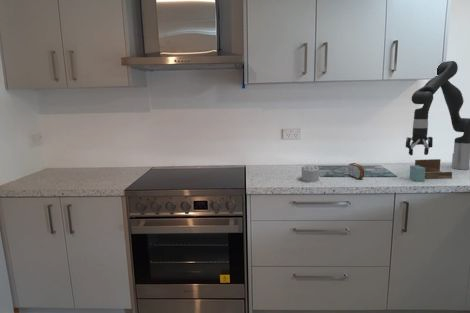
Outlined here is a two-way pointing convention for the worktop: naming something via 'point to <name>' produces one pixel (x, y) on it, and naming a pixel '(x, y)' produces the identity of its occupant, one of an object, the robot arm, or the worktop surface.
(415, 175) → the cabinet block
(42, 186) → the worktop surface
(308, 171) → the lumpy-topped squat cylinder
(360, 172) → the grey brown half-round slab
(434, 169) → the wall rack
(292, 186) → the worktop surface
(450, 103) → the robot arm
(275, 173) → the worktop surface
